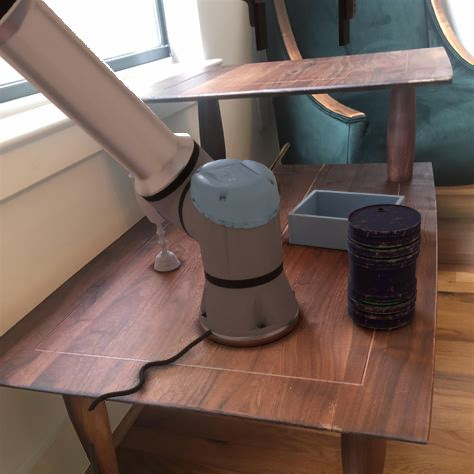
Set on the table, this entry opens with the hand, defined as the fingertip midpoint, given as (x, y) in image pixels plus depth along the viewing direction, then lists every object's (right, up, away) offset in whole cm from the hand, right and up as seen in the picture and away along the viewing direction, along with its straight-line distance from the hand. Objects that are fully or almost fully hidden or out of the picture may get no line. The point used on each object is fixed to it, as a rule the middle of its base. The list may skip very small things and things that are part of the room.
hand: (301, 47), depth 84 cm
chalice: (-23, -32, +20) cm, 44 cm away
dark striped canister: (+11, -41, -3) cm, 43 cm away
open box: (+12, -25, +23) cm, 36 cm away
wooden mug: (-5, -24, +29) cm, 38 cm away
